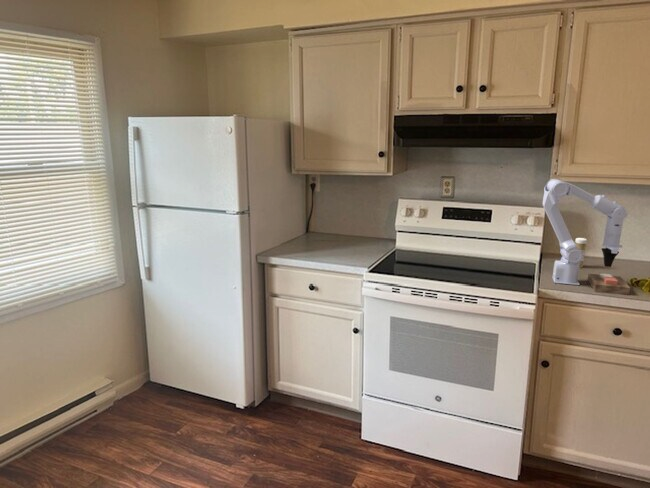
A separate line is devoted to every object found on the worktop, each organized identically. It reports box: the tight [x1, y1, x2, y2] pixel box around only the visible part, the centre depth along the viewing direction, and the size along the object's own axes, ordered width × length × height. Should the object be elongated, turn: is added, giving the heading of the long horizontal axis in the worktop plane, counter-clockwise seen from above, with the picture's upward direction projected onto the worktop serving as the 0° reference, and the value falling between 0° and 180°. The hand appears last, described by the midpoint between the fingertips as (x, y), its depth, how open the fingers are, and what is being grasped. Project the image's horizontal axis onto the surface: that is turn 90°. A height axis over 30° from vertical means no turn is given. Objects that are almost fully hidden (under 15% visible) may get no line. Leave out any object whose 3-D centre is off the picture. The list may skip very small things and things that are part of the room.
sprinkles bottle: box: [574, 237, 588, 269], centre depth 224 cm, size 5×5×13 cm
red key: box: [603, 277, 618, 285], centre depth 194 cm, size 4×4×2 cm
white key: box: [599, 273, 613, 278], centre depth 201 cm, size 4×4×2 cm
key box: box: [587, 273, 631, 296], centre depth 197 cm, size 12×15×3 cm
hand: (607, 266), depth 200 cm, fingers closed
